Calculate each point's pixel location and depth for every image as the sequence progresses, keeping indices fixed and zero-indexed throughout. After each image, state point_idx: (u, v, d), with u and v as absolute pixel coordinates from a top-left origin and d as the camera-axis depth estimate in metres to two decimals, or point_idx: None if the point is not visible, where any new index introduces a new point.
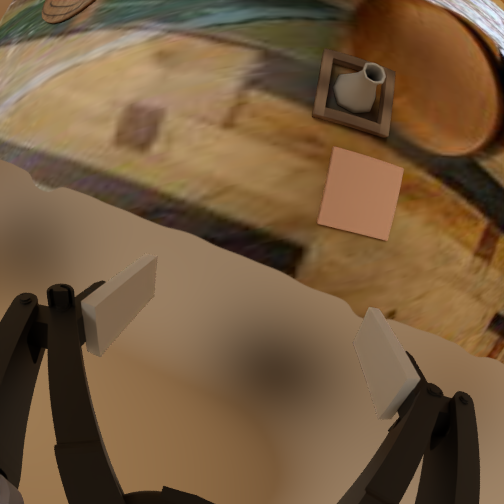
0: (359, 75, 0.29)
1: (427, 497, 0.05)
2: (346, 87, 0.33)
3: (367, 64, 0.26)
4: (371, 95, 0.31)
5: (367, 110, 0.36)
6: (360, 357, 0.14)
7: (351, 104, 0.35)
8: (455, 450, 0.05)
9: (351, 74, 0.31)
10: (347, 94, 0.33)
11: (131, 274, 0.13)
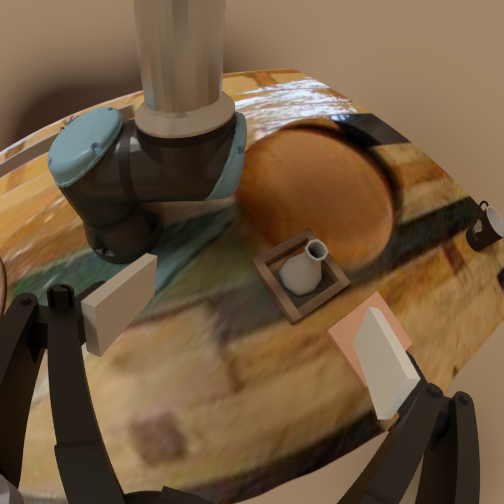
0: (304, 261, 0.39)
1: (427, 497, 0.05)
2: (298, 278, 0.42)
3: (307, 247, 0.37)
4: (320, 267, 0.41)
5: (320, 279, 0.45)
6: (360, 357, 0.14)
7: (309, 287, 0.43)
8: (455, 450, 0.05)
9: (292, 264, 0.42)
10: (303, 283, 0.42)
11: (131, 274, 0.13)
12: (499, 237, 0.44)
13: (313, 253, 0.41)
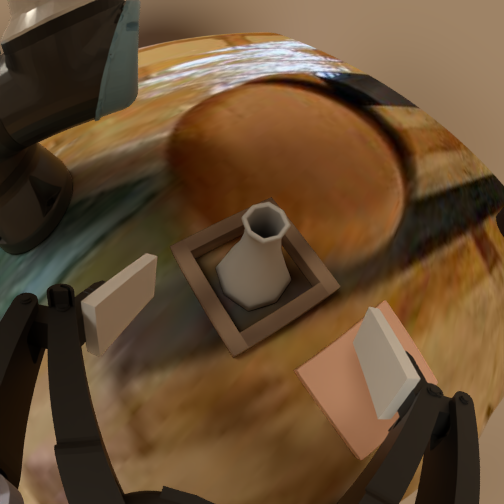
0: (246, 246, 0.21)
1: (427, 497, 0.05)
2: (241, 279, 0.23)
3: (245, 217, 0.19)
4: (282, 258, 0.23)
5: (288, 281, 0.27)
6: (360, 357, 0.14)
7: (265, 295, 0.25)
8: (455, 450, 0.05)
9: (232, 254, 0.24)
10: (252, 288, 0.24)
11: (131, 274, 0.13)
12: None
13: (268, 233, 0.23)
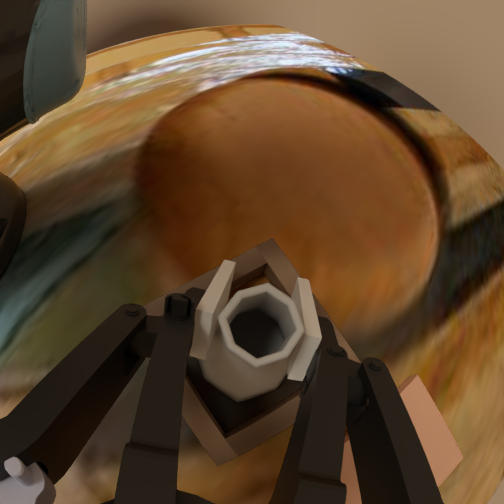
0: None
1: (369, 476, 0.06)
2: (226, 375, 0.15)
3: (224, 317, 0.10)
4: None
5: None
6: None
7: (261, 388, 0.16)
8: (383, 425, 0.07)
9: None
10: (241, 386, 0.15)
11: (225, 280, 0.15)
12: None
13: (267, 314, 0.14)
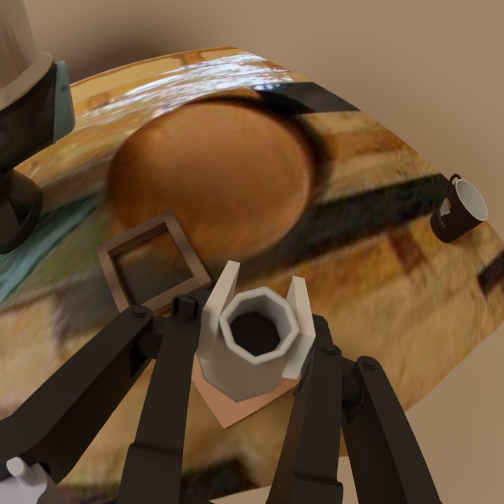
0: None
1: (366, 476, 0.06)
2: (225, 375, 0.15)
3: (225, 318, 0.11)
4: None
5: None
6: None
7: (259, 388, 0.17)
8: (378, 424, 0.07)
9: None
10: (240, 386, 0.15)
11: (230, 281, 0.15)
12: (476, 221, 0.33)
13: (265, 317, 0.15)
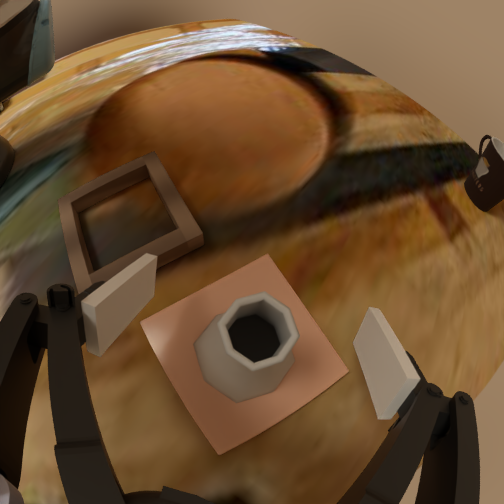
0: None
1: (427, 497, 0.05)
2: (225, 377, 0.15)
3: (223, 324, 0.11)
4: None
5: (290, 364, 0.19)
6: (360, 357, 0.14)
7: (258, 389, 0.17)
8: (455, 449, 0.05)
9: (211, 344, 0.15)
10: (240, 387, 0.15)
11: (131, 274, 0.13)
12: None
13: (265, 319, 0.15)
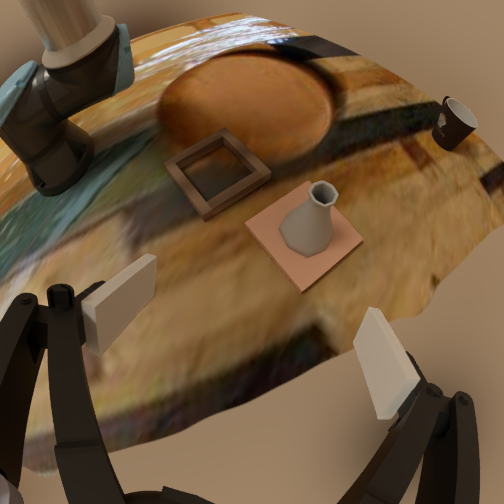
0: (310, 210, 0.30)
1: (427, 497, 0.05)
2: (304, 234, 0.33)
3: (310, 191, 0.28)
4: (330, 217, 0.32)
5: (331, 233, 0.36)
6: (360, 357, 0.14)
7: (319, 244, 0.35)
8: (455, 450, 0.05)
9: (295, 217, 0.33)
10: (311, 239, 0.33)
11: (131, 274, 0.13)
12: (468, 128, 0.37)
13: (319, 200, 0.32)
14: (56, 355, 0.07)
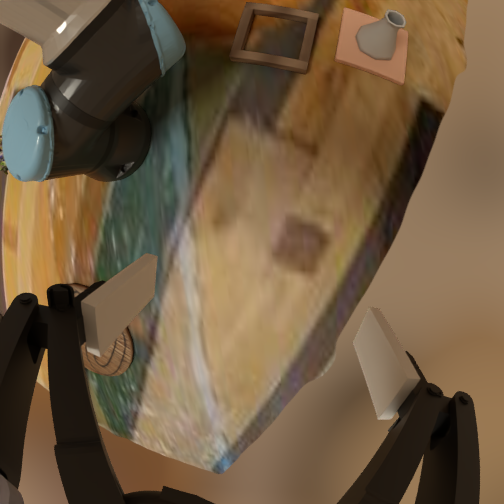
0: (389, 31, 0.25)
1: (427, 497, 0.05)
2: (386, 46, 0.28)
3: (389, 20, 0.22)
4: None
5: None
6: (360, 357, 0.14)
7: (393, 48, 0.30)
8: (455, 449, 0.05)
9: (375, 38, 0.28)
10: (391, 48, 0.29)
11: (131, 274, 0.13)
12: None
13: None
14: (56, 355, 0.07)
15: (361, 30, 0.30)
